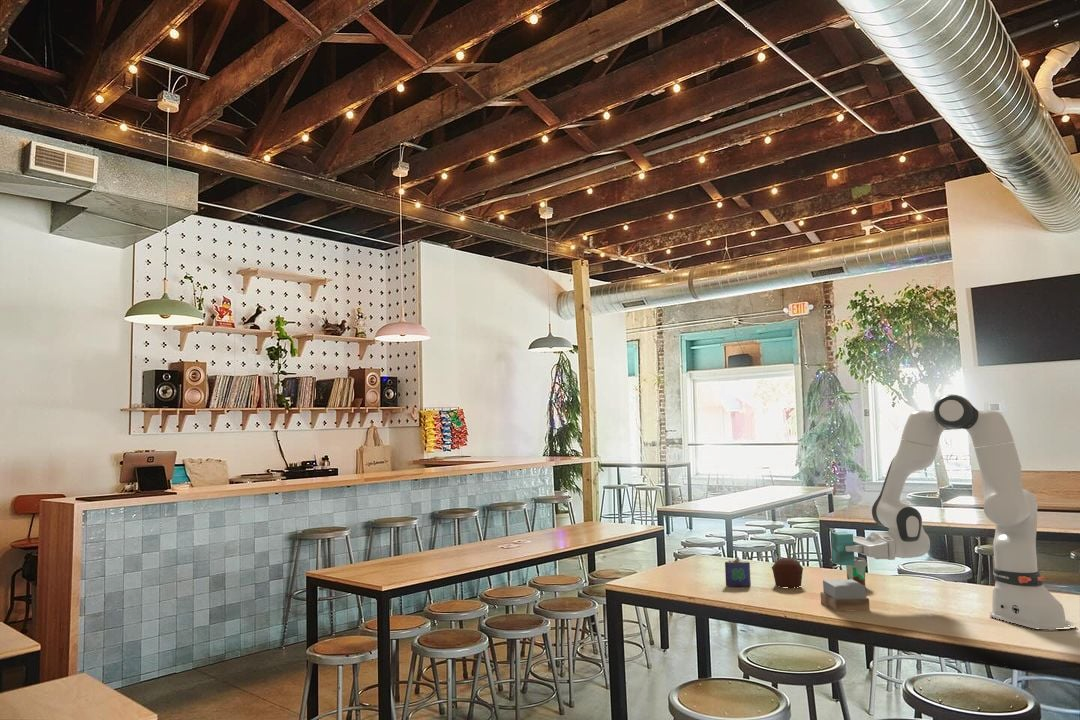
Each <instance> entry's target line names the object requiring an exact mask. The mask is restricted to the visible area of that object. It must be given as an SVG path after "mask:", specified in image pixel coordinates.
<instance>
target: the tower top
mask: <svg viewBox="0 0 1080 720" xmlns="http://www.w3.org/2000/svg"><path fill="white" fill-rule="evenodd" d="M822 586H823V589H822V592H824V593H826V594H827V595H829V596H831V597H832V598H834V599H866V598H867V586H866V585H865V586H864V585H862V584H860V583H858V582H857V581H855V580H853V579H849V580H847V579H823V580H822Z"/></svg>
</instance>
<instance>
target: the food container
mask: <svg viewBox="0 0 1080 720" xmlns="http://www.w3.org/2000/svg"><path fill="white" fill-rule="evenodd" d="M854 561H855V565H845V566H846V568H845V569H846V578H847V579H846V580H849V579H853V580H855V581H857V582H858V583H860V584H862V585H864V586H866V567H867V566H868V563H867V561H866V558H864V557H860V556H855V555H854Z"/></svg>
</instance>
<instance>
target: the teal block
mask: <svg viewBox="0 0 1080 720" xmlns="http://www.w3.org/2000/svg"><path fill="white" fill-rule="evenodd" d="M853 536H854V534H853V533H851V532H848V531H831V532H830V539H831V551H832V552H831V553H832V554H831V556H832V563H833V564H836V565H839V566H846V565H855V561H854V556H855V552H847V551H845V550H844V546H845V545H850V546H854V543H853Z"/></svg>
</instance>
